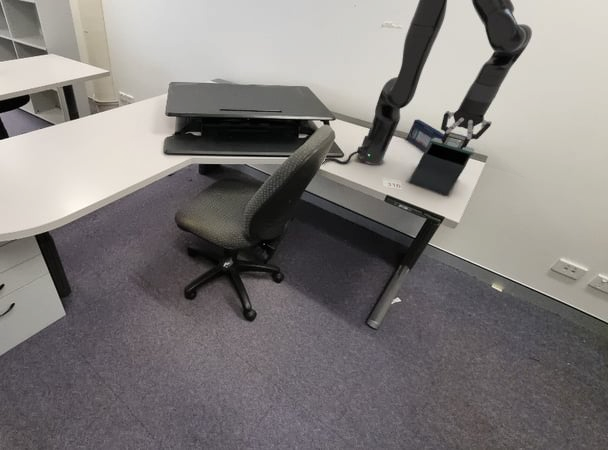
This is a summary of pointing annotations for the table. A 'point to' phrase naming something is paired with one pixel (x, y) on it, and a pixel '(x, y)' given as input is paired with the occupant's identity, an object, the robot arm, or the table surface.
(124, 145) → the table surface
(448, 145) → the bin lid
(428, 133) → the vhs cassette tape
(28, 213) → the table surface
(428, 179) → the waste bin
